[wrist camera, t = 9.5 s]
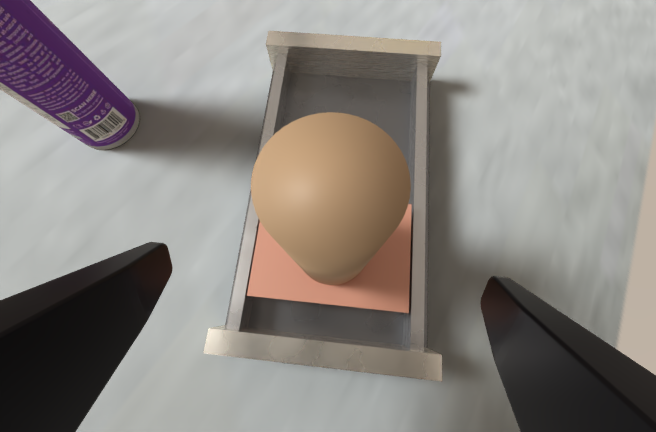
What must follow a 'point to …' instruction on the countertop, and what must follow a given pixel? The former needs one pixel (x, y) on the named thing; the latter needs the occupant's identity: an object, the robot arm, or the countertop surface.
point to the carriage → (332, 215)
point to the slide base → (413, 140)
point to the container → (60, 79)
